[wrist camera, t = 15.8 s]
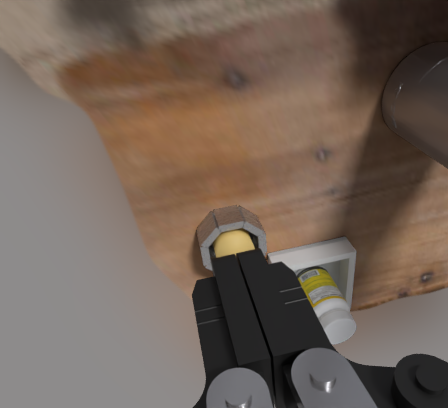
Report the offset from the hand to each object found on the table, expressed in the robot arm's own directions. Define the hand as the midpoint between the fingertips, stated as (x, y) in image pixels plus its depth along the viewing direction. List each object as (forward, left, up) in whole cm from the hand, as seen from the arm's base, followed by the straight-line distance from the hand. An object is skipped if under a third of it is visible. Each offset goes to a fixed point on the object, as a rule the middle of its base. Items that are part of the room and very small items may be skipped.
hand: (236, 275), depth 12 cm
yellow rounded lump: (-3, +18, -24) cm, 30 cm away
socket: (-3, +18, -25) cm, 31 cm away
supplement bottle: (-12, +27, -25) cm, 38 cm away
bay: (-12, +27, -25) cm, 39 cm away
